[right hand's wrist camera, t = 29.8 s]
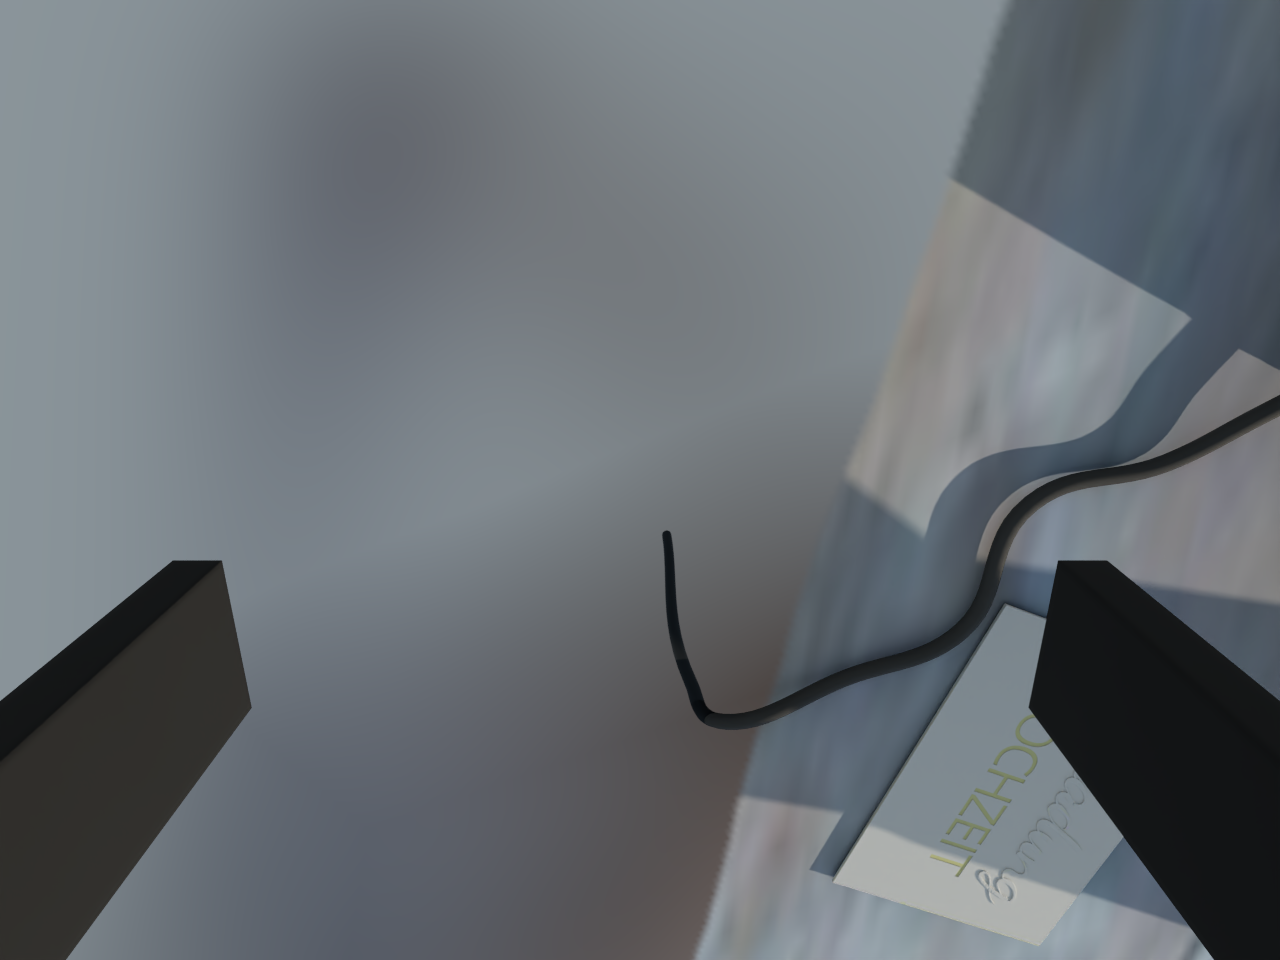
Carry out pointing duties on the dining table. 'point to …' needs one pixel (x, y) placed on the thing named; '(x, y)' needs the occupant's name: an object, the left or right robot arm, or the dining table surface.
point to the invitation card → (986, 805)
